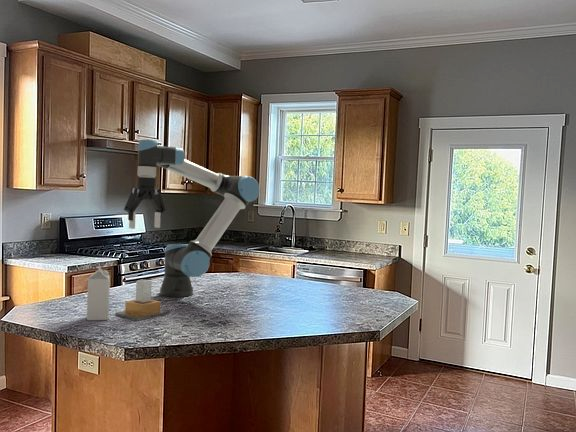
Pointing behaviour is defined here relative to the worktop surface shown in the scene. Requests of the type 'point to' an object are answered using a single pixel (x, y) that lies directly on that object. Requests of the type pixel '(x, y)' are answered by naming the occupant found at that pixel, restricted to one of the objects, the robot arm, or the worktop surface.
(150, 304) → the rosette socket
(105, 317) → the milk carton
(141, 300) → the white tall block
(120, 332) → the worktop surface
